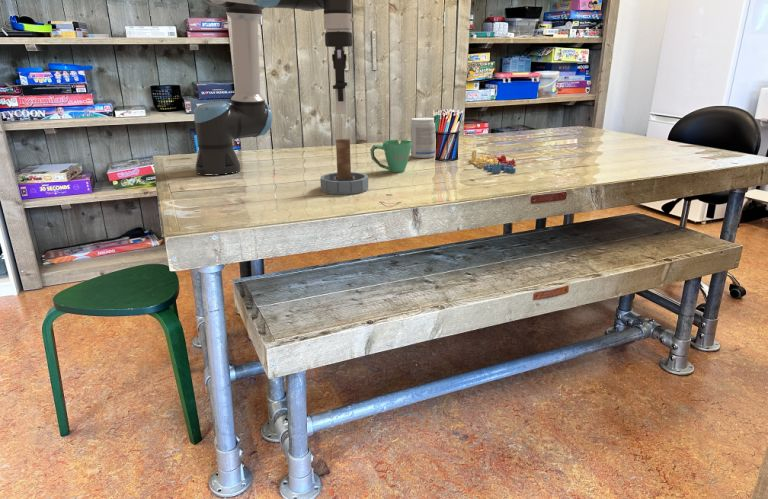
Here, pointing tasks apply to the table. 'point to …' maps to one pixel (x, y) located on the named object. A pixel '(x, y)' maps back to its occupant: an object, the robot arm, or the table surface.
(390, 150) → the mug
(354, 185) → the grey ridged lid
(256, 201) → the table surface
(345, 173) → the brown wooden block
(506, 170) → the toy parts cluster
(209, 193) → the table surface
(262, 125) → the robot arm
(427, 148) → the supplement tub
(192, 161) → the table surface
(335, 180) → the clip
